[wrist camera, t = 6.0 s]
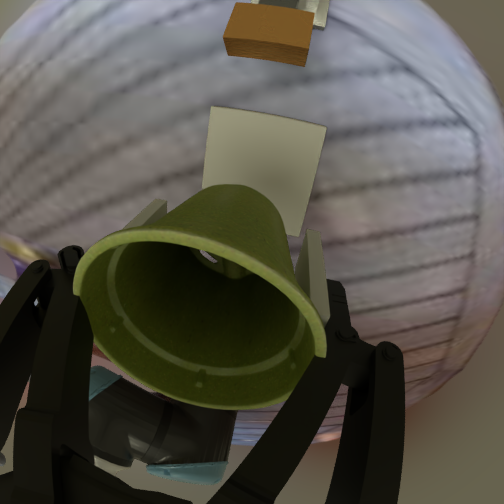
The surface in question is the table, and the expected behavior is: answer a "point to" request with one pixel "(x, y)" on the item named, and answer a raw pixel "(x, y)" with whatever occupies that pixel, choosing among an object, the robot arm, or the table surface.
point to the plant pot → (204, 302)
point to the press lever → (270, 31)
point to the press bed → (265, 158)
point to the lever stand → (313, 10)
